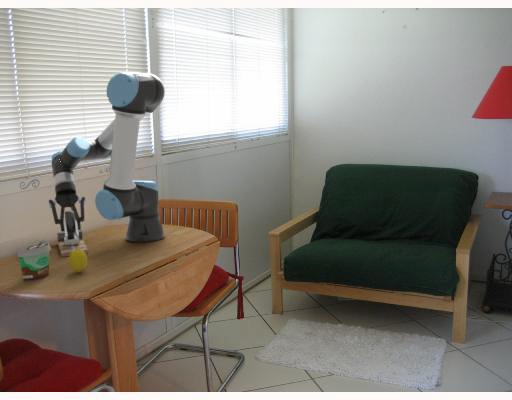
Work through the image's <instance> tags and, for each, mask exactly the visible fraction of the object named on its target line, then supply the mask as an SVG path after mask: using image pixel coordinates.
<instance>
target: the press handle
mask: <svg viewBox="0 0 512 400" xmlns="http://www.w3.org/2000/svg"><path fill="white" fill-rule="evenodd" d="M64 221H66V227H67V235H68V240H65V237H64V243H65V246H66V245H75V244H80V242H79V239H77V237H76V231H75V217H74V211H72V210H67V211H64Z"/></svg>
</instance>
